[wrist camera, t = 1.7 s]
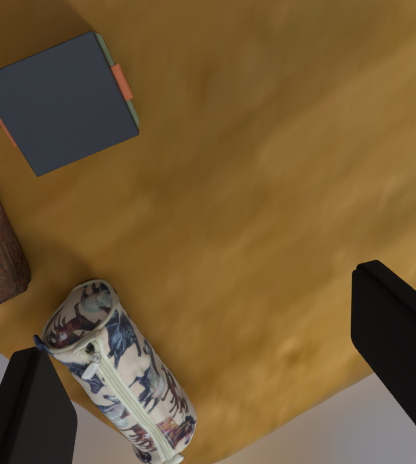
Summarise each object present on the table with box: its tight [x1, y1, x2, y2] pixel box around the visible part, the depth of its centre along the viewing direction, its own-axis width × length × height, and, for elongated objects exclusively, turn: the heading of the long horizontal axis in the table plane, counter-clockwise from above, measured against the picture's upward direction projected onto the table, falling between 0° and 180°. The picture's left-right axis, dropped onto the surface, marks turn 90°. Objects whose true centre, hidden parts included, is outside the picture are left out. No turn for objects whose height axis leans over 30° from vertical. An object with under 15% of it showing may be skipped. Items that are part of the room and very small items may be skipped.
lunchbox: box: [0, 31, 139, 177], centre depth 28 cm, size 9×7×7 cm
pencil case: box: [33, 279, 197, 464], centre depth 39 cm, size 22×8×10 cm, turn 22°
